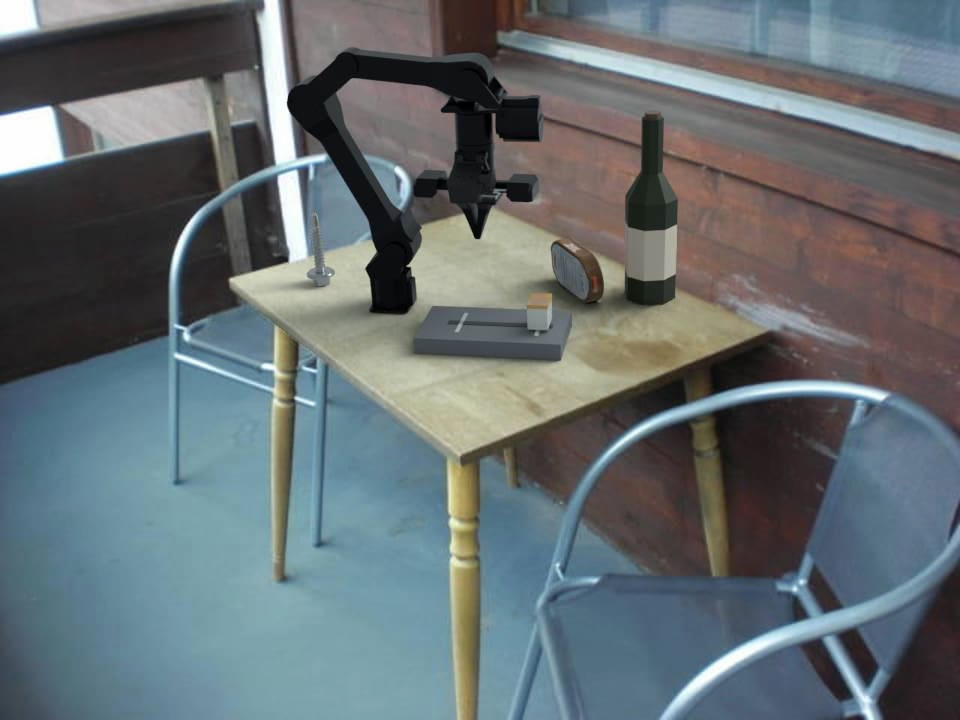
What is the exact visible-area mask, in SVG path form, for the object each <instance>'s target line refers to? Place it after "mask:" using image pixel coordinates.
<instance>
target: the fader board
mask: <svg viewBox="0 0 960 720" xmlns="http://www.w3.org/2000/svg"><path fill="white" fill-rule="evenodd" d="M572 316H573V314H572V310H554V309H552V320H551V323H550V325H549V328H548V330H528V325H527V308H525V309H524V308H506V307H505V308H503V307H477V306H476V307H475V306H451V305H450V306H449V305H431V308H430V309H429V311H428V312H427V314H426V316H425V317H424V319H423V320H422V321H423V322H422V323H421V324H420V326H419V328H418V330H417V331H416V333H415V335H414V336H413V338H412V339H413V351H414V354H421V355H423V354H425V355H444V356H445V355H446V356H464V357H465V356H466V357H488V358H490V357H491V358H510V359H527V360H528V359H529V360H530V359H531V360H548V361H550V360H552V361H562V358H563V355H564V352H565V349H566V345H567V341H568V340H569V336H570V333H571V329H572V327H573V324H572V322H573V321H572V320H573V318H572Z"/></svg>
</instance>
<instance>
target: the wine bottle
mask: <svg viewBox="0 0 960 720" xmlns="http://www.w3.org/2000/svg"><path fill="white" fill-rule="evenodd" d="M664 123H665V118H664V116H663V115H662V112H661V111H660V110H655V109H654V110H652V109H651V110H646V111H644V116H642V117H641V132H640V133H641V138H640V140H641V141H640V142H641V144H640V147H641V148H640V151H641V153H640V171H639V173H638V175H637V176H636V178H635V179H634V181H633V182H632V184H631V186H629V189H628V190H627V192H626V193H625V196H624V197H625V200H624V202H625V203H624V208H625V209H624V216H625V217H624V296H625V298H626V301H627V302H631V303H635V304H637V305H641V306H655V305H657V304H659V305H665V304H667V303H668V301H669V302H670V301H672V300H674V299H676V281H677V280H676V278H677V276H676V274H677V246H678V245H677V241H678V207H679V206H678V205H679V197H677V195H676V193H675V191H674V189H673V188H672V186H671V184H670V182H669V181H668V178H667V177H666V176H665V173H664V172H663V169H664V168H663V167H664V136H665V135H664V130H665V129H664V128H665V126H664V125H665V124H664ZM673 298H674V299H673ZM671 299H672V300H671Z"/></svg>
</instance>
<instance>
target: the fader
mask: <svg viewBox="0 0 960 720" xmlns="http://www.w3.org/2000/svg"><path fill="white" fill-rule="evenodd" d="M552 299H553V293H545V292H544V293H543V292H531V293H530V295H529V298H528V300H527V302H526V305H525V306H526V309H527V325H528V330H548V328H549V325H550V323H551V320H552V310H553V301H552Z"/></svg>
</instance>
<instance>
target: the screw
mask: <svg viewBox="0 0 960 720" xmlns="http://www.w3.org/2000/svg"><path fill="white" fill-rule="evenodd" d="M309 229H310V233H311V234H310V236H311V238H310V239H311V243H312V244H311V246H312V248H311V249H313V250H312V252H313V254H312V255H313V259H314V260H313V262H314V264H313V265H314V267H313V268H310V269H309V270H308V271H307V272H306V277H307V278H308V279H311V280H313V285H314V286H316V287H318V288H319V287H320V288H321V287H326V286H328V285H329V284H331V279H330V278H332V277H334V276H335V275H336V271H335V269H334V268H333V267H330V266H326V264H325V263H326V261H325V259H326V258H325V254H324V252H325V251H324V244H323V243H324V241H322V240H323V238H322V236H323V234H322V228H321V224H320V223H319V217H318V213H316V212H315V211H313V212H311V214H310V228H309Z"/></svg>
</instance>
